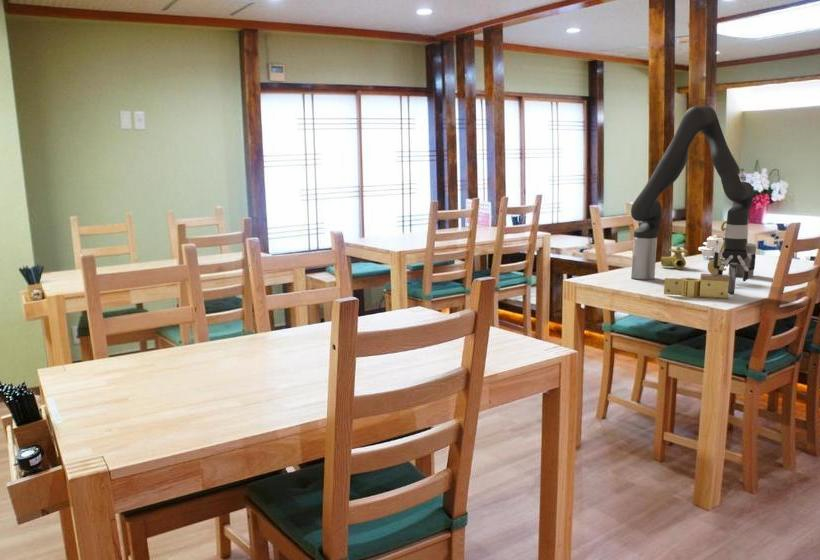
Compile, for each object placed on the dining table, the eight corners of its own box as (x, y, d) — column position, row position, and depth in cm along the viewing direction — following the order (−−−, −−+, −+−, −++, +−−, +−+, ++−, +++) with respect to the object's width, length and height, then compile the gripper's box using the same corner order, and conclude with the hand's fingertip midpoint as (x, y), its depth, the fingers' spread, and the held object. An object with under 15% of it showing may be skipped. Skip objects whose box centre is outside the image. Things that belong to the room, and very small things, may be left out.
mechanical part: (704, 256, 341) (706, 233, 338) (728, 259, 332) (730, 235, 329) (693, 258, 334) (695, 234, 331) (717, 261, 324) (719, 237, 322)
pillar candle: (724, 275, 288) (728, 240, 285) (733, 272, 294) (736, 238, 292) (748, 278, 281) (752, 243, 278) (756, 275, 288) (760, 241, 285)
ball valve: (688, 270, 301) (689, 248, 299) (664, 270, 303) (665, 248, 301) (681, 266, 313) (682, 244, 311) (658, 265, 315) (659, 244, 313)
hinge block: (663, 295, 248) (665, 274, 246) (663, 292, 254) (664, 271, 253) (727, 299, 241) (729, 277, 240) (725, 295, 248) (727, 274, 246)
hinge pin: (726, 294, 250) (729, 262, 248) (725, 292, 253) (727, 261, 251) (737, 294, 249) (739, 263, 247) (735, 293, 252) (738, 261, 250)
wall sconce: (725, 285, 266) (730, 222, 261) (702, 282, 273) (707, 220, 269) (743, 281, 274) (749, 220, 269) (721, 278, 281) (726, 218, 277)
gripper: (716, 237, 246) (712, 281, 249) (759, 238, 241) (755, 283, 244) (713, 234, 253) (710, 277, 256) (755, 236, 248) (752, 279, 252)
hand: (732, 280), depth 250 cm, fingers open, 7 cm apart
